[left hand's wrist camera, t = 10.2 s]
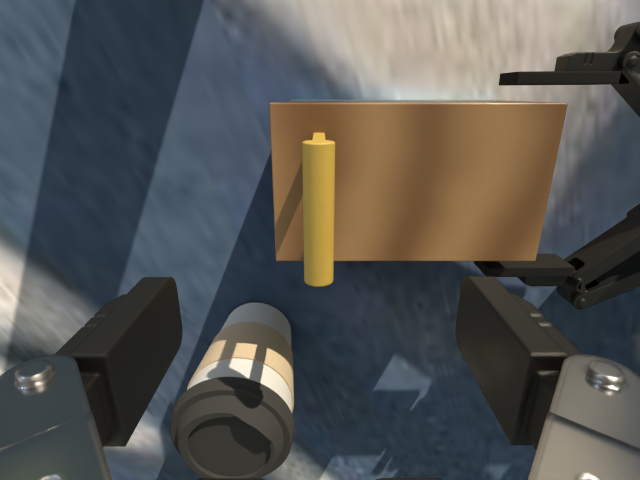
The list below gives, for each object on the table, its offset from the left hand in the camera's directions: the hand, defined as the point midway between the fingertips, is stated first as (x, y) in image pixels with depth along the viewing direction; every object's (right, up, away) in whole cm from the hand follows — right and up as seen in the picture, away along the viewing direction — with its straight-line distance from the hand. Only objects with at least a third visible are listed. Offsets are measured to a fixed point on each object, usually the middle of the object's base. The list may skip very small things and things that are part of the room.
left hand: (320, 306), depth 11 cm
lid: (+6, +6, +15) cm, 17 cm away
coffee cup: (-6, -8, +30) cm, 32 cm away
